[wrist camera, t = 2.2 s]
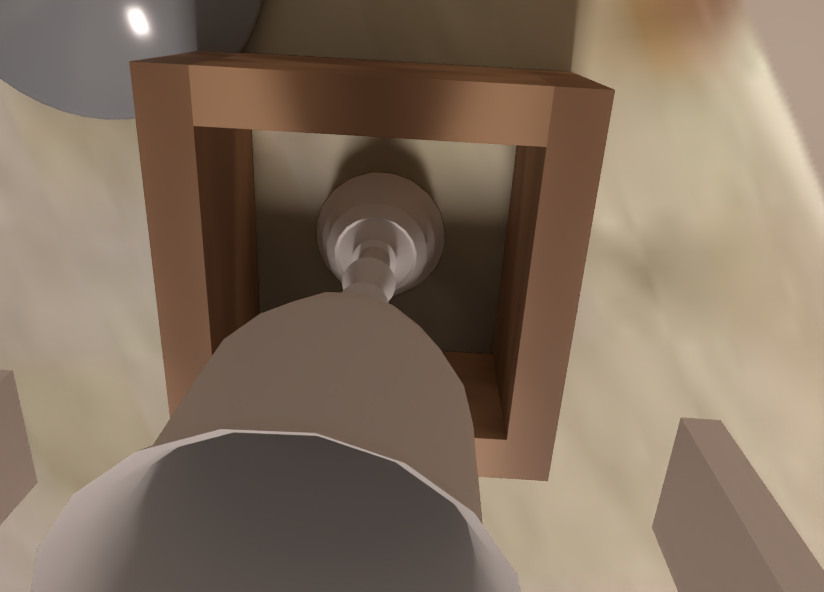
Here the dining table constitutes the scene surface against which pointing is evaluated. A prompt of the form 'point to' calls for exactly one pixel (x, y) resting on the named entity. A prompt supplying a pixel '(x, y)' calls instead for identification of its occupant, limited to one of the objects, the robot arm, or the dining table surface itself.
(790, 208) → the dining table surface
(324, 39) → the dining table surface
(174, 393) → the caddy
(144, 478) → the chalice
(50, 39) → the coaster
